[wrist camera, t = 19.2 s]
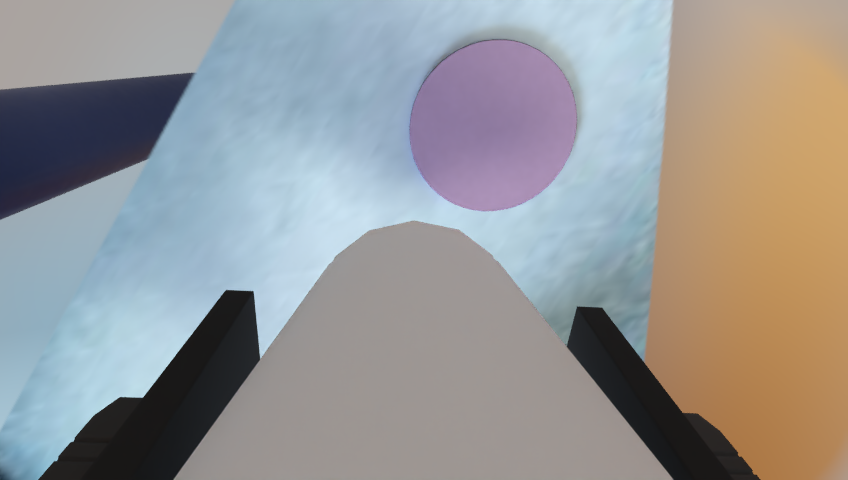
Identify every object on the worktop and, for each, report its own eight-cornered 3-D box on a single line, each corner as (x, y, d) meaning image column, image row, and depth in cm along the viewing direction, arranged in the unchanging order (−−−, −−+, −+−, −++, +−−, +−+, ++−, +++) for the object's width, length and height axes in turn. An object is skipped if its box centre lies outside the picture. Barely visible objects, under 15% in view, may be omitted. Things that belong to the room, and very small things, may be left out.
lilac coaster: (405, 205, 30) (405, 207, 30) (414, 33, 25) (414, 32, 25) (557, 213, 31) (559, 215, 30) (591, 46, 26) (594, 46, 26)
